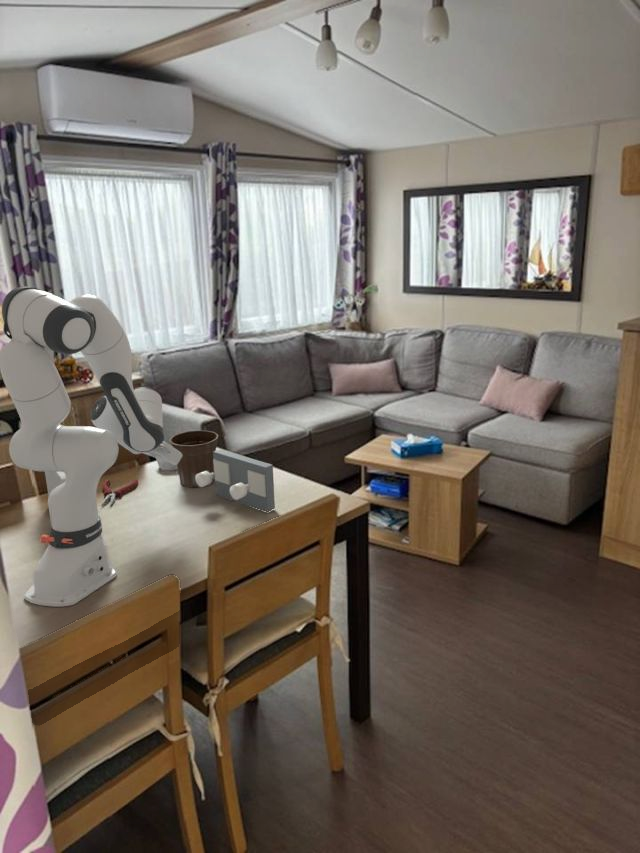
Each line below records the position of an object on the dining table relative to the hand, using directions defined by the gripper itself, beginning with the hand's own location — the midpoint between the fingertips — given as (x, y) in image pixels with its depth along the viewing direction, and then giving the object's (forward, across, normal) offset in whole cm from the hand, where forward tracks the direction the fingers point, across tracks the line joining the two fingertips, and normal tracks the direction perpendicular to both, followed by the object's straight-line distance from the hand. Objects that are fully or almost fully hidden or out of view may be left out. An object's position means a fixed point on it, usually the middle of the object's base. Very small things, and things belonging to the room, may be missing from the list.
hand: (170, 460), depth 187 cm
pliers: (+12, +33, +15) cm, 38 cm away
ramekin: (+32, +38, -6) cm, 50 cm away
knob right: (+17, -16, -1) cm, 24 cm away
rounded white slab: (-1, +26, +28) cm, 38 cm away
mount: (+28, -8, -2) cm, 29 cm away
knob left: (+17, 0, -1) cm, 17 cm away
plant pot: (+30, +18, -3) cm, 35 cm away
